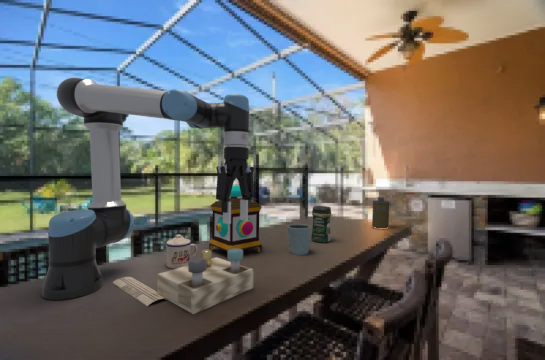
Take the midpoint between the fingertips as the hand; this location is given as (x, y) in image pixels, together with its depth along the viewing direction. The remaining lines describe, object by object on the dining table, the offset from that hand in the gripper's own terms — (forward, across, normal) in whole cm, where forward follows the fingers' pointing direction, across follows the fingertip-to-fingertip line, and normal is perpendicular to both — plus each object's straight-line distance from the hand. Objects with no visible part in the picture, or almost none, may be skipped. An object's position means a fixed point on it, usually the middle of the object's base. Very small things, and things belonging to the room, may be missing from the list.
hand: (235, 221), depth 90 cm
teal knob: (+15, 0, 0) cm, 15 cm away
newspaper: (+22, -21, +20) cm, 37 cm away
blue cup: (+21, +46, +8) cm, 51 cm away
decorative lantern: (+21, +28, +30) cm, 46 cm away
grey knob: (+15, -14, 0) cm, 21 cm away
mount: (+21, -7, +5) cm, 23 cm away
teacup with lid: (+21, +2, +32) cm, 38 cm away
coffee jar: (+21, +71, +11) cm, 75 cm away
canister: (+21, +128, 0) cm, 130 cm away
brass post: (+15, -4, +9) cm, 18 cm away
